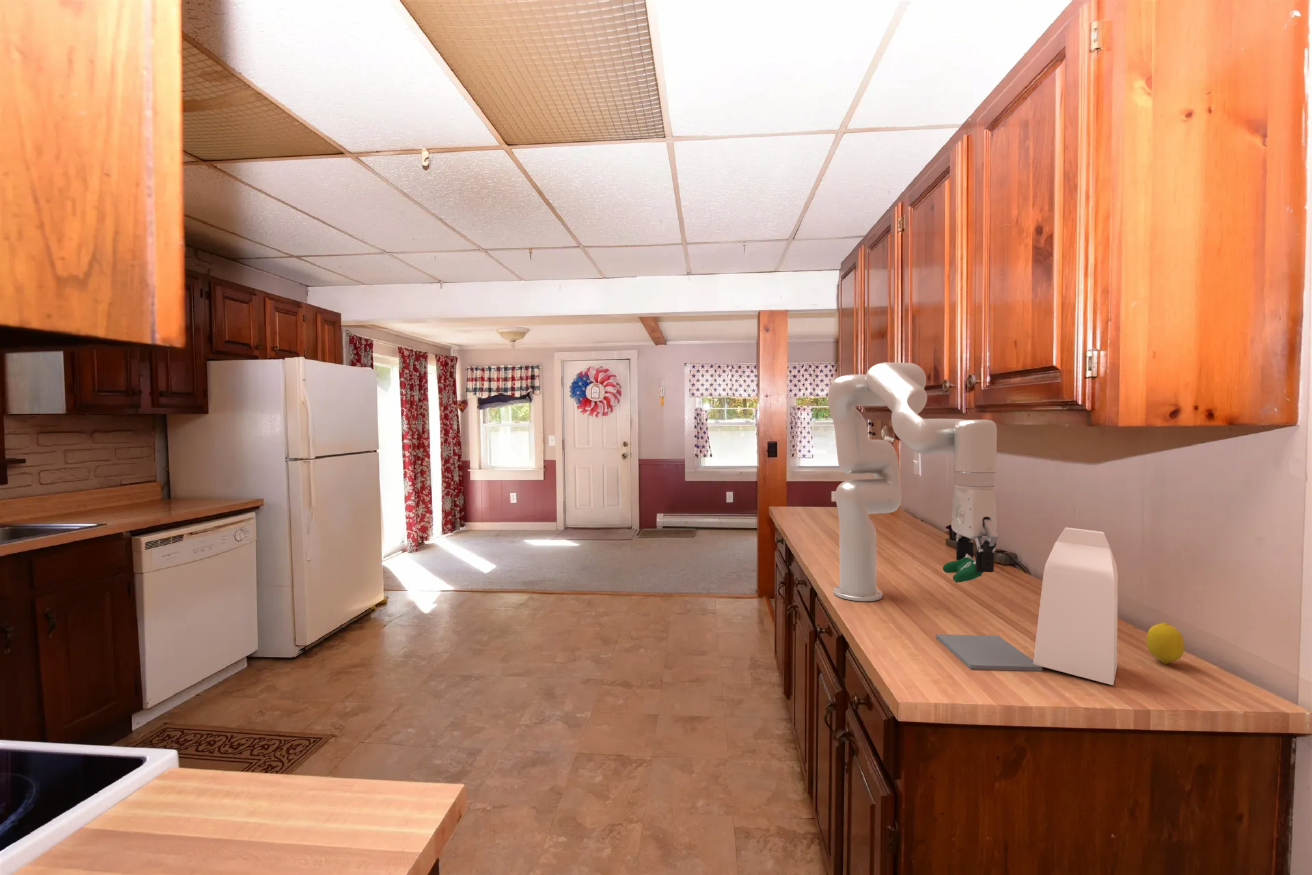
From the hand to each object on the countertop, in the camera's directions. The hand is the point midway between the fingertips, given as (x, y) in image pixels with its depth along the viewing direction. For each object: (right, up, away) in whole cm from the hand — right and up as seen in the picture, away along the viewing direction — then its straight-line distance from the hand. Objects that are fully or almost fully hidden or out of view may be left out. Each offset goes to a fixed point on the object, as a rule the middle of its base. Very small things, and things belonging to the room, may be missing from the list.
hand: (974, 565), depth 117 cm
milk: (+15, -18, -7) cm, 24 cm away
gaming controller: (-2, -3, 0) cm, 3 cm away
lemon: (+34, -18, -6) cm, 39 cm away
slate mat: (+2, -18, 0) cm, 18 cm away
